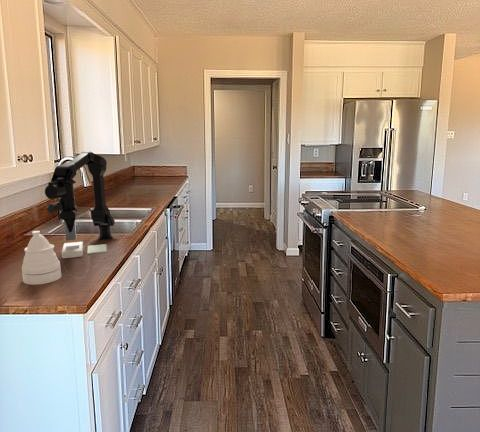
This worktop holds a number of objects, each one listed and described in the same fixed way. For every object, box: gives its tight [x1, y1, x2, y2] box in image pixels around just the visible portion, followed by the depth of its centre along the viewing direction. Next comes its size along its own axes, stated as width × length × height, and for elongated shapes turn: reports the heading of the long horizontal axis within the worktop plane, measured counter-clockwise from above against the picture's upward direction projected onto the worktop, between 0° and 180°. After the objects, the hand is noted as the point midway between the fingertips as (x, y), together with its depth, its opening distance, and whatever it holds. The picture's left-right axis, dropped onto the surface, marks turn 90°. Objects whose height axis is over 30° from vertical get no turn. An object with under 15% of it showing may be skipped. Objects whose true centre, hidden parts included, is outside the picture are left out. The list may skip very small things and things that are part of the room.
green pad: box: [86, 243, 107, 255], centre depth 197 cm, size 12×8×1 cm, turn 18°
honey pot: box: [21, 230, 62, 286], centre depth 159 cm, size 13×13×18 cm
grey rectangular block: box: [63, 221, 78, 241], centre depth 190 cm, size 4×4×8 cm
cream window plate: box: [61, 241, 84, 259], centre depth 193 cm, size 16×8×2 cm, turn 18°
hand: (70, 230), depth 190 cm, fingers closed on grey rectangular block, 4 cm apart
